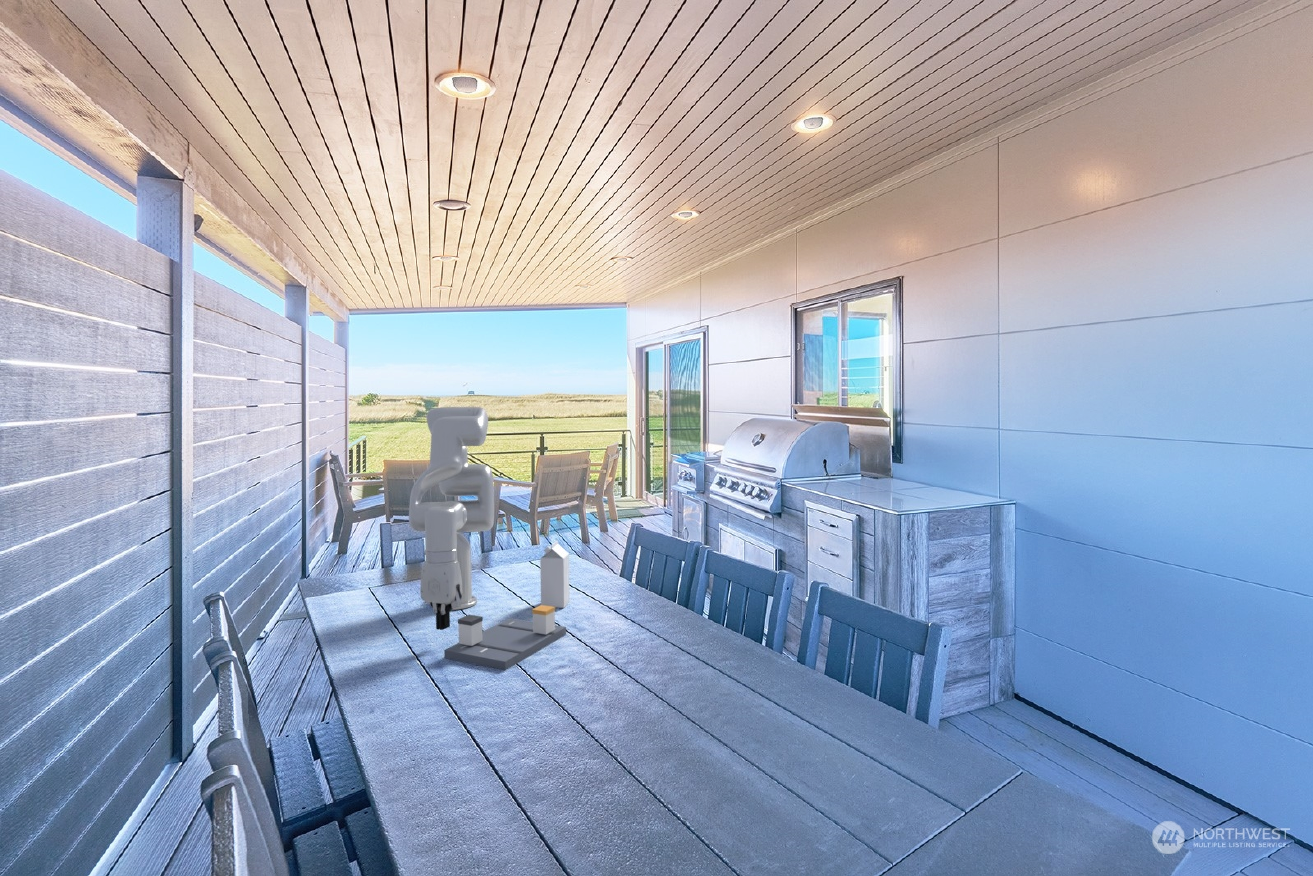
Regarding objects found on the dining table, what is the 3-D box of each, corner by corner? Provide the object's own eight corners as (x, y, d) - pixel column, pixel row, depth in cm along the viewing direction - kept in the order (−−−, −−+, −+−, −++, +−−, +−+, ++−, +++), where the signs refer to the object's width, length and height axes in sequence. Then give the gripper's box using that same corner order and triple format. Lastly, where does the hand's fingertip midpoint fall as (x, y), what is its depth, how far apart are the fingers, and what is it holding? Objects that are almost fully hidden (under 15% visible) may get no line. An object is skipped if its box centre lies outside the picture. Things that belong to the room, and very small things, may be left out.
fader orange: (532, 632, 174) (532, 609, 174) (541, 627, 178) (541, 605, 178) (546, 634, 173) (545, 611, 172) (555, 629, 177) (555, 606, 176)
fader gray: (458, 643, 167) (457, 619, 166) (469, 638, 171) (469, 614, 170) (471, 646, 165) (471, 621, 165) (483, 640, 169) (482, 616, 169)
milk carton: (569, 601, 209) (568, 540, 208) (564, 608, 202) (563, 545, 201) (547, 600, 210) (546, 540, 209) (540, 608, 203) (539, 545, 202)
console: (444, 658, 164) (444, 649, 164) (510, 625, 187) (510, 617, 187) (505, 670, 156) (505, 661, 156) (566, 634, 180) (566, 626, 180)
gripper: (407, 556, 170) (409, 628, 171) (454, 562, 164) (456, 637, 165) (429, 550, 177) (431, 619, 178) (475, 555, 171) (476, 627, 172)
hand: (443, 628), depth 171 cm, fingers closed
